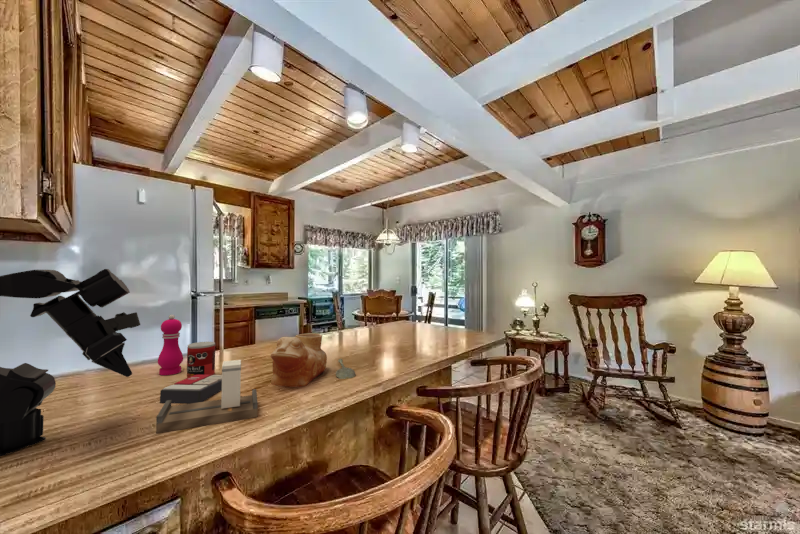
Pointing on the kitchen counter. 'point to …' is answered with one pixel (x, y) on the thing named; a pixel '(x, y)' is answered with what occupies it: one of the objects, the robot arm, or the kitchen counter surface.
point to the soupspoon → (345, 372)
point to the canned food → (201, 359)
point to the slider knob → (231, 383)
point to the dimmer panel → (204, 413)
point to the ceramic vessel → (298, 360)
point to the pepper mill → (170, 347)
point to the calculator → (192, 389)
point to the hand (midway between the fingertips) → (130, 375)
